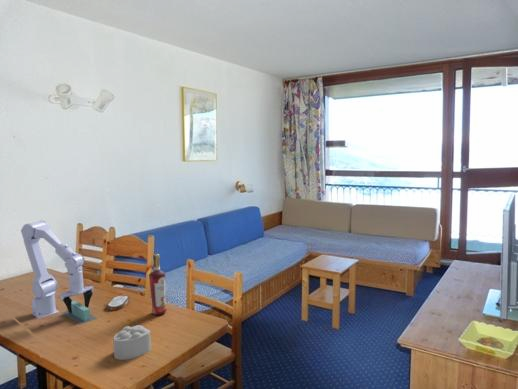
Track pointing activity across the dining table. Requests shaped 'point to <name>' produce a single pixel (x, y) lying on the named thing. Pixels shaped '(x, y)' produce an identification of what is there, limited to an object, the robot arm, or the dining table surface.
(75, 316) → the tool mat
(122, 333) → the lumpy-topped squat cylinder
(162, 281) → the liquor
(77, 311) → the teal rectangular block
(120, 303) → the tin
